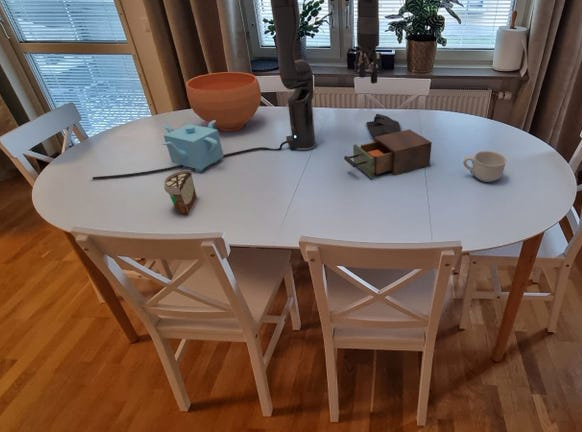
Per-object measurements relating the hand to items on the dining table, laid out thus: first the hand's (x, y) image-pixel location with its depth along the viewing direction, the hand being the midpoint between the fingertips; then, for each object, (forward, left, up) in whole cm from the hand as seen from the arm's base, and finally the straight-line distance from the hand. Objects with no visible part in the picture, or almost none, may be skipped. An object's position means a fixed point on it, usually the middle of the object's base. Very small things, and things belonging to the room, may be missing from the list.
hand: (368, 80), depth 140 cm
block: (-1, -15, -26) cm, 30 cm away
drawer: (-2, -15, -27) cm, 31 cm away
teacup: (+34, -30, -28) cm, 53 cm away
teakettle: (-65, +6, -28) cm, 71 cm away
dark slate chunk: (+12, +19, -28) cm, 36 cm away
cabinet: (+10, -12, -28) cm, 32 cm away
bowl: (-54, +42, -28) cm, 74 cm away
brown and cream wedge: (-66, -25, -28) cm, 76 cm away
